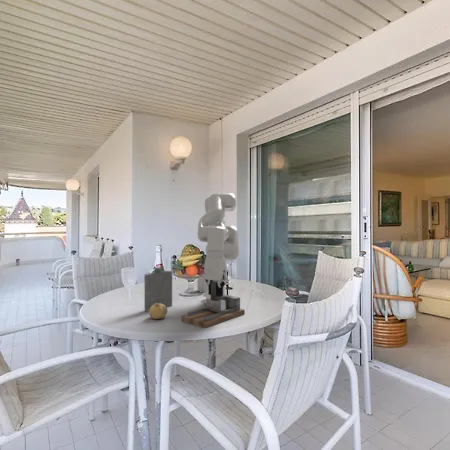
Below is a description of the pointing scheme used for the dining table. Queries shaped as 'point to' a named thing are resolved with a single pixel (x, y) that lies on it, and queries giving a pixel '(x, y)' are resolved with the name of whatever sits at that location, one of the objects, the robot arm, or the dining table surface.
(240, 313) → the cracker base
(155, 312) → the onion
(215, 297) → the jaw
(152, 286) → the hip flask
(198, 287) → the tea bag
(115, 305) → the dining table surface
